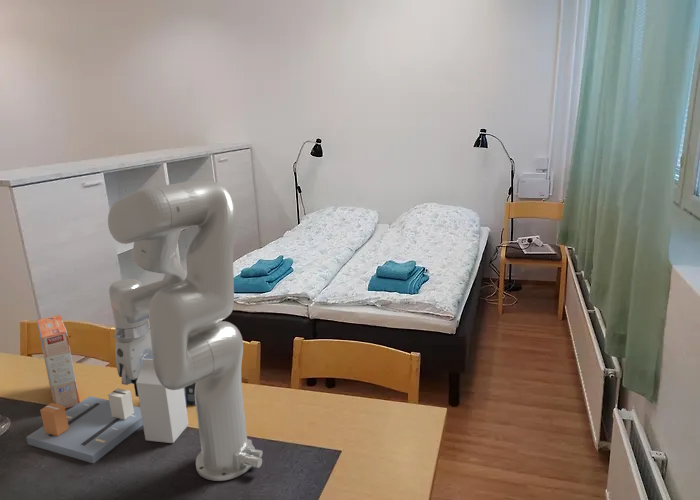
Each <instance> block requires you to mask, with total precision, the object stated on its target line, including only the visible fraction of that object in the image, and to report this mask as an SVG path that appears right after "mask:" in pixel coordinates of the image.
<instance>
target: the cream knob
mask: <svg viewBox="0 0 700 500" xmlns="http://www.w3.org/2000/svg"><path fill="white" fill-rule="evenodd" d="M107 397H108V400H109V402H110V408H111V414H112V417H116V418H120V419H124V420H125V419H127V418H128V417H129V416H131V415H132V414H133V413H134V409H133V406H134V404H133V397H132V392H131V390H128V389H124V388H119V387H118V388H116V389H114V390H113V391H111V392H110V393H108V394H107Z"/></svg>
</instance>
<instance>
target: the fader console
mask: <svg viewBox="0 0 700 500" xmlns="http://www.w3.org/2000/svg"><path fill="white" fill-rule="evenodd" d="M133 409H134V413H133V414H132V415H131V416H129V417H128V418H127V419H125V420H124V419H120V418H116V417H112V414H111V408H110V402H109V399H106V398H101V397H95V396H92V395H89V396H88V397H86V398H85V399H83V400H81V401H80V403H78V404H77V405H75V406H73V407H70V408H68V410H67V409H66V410H65V411H66V416H67V421H68V426H69V429H68V430H66V431H65V432H63V433H62V434H60V435H59V436H56V435H52V434H48V433H45V429H44V425H43V426H40V427H39V428H38V429H36V430H35V431H33V432H32V433H29V435H27V436H26V438H25V439H26V442H27V445H28V446H32V447H36V448H39V449H43V450H46V451H50V452H53V453H57V454H60V455H63V456H67V457H70V458H72V459H73V458H74V459H78V460H81V461H84V462H88V463H90V464H96V462H98V461H99V460H100V459H101V458H103V457H104V456H106V454H108V453H109V452H110V451H112V450H113V449H114V448H116V446H118V445H119V444H120V443H121V442H123V441H124V440H125V439H127V438H128V437H129V436H131V435H132V434H133V433H134V432H135V431H137V430H138V429H139V428H141V427H142V426H143V421H142V415H141V409H140V406H137V405H135V406H134V405H133Z"/></svg>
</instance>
